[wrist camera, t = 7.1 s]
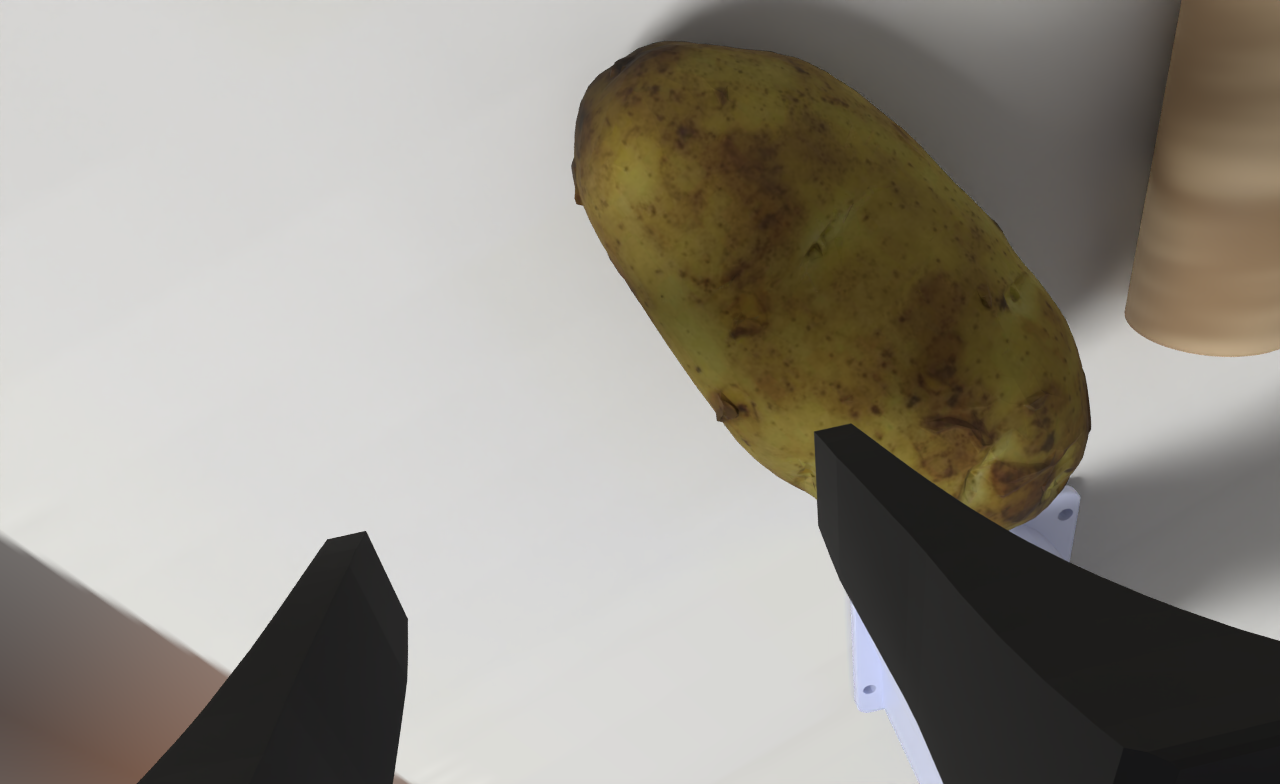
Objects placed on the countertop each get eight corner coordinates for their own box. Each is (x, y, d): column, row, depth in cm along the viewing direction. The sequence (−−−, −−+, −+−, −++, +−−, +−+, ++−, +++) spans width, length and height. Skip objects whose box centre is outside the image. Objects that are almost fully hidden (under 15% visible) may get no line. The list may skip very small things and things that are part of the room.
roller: (1233, 274, 24) (1339, 340, 20) (1096, 298, 24) (1179, 368, 21) (1323, -71, 19) (1481, -58, 15) (1149, -37, 19) (1270, -17, 16)
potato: (861, -108, 17) (1093, -104, 10) (991, 346, 24) (1182, 524, 17) (523, 88, 18) (537, 205, 11) (740, 468, 25) (828, 681, 18)
